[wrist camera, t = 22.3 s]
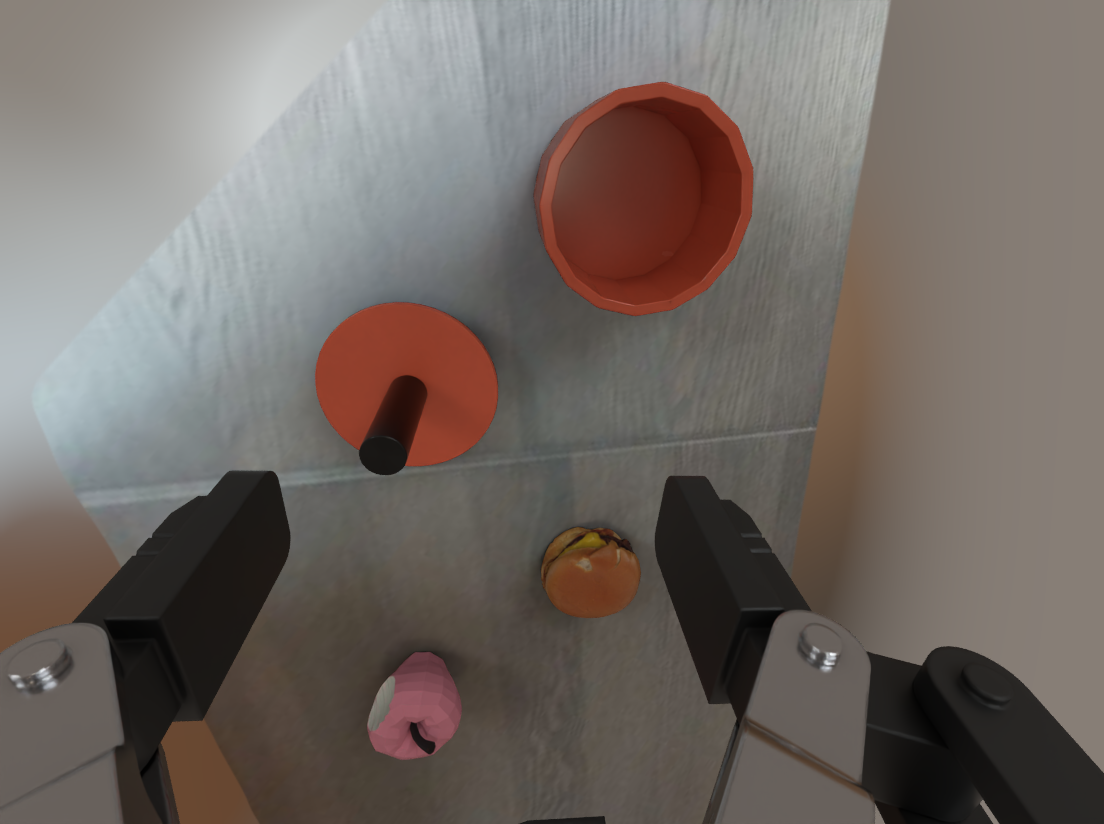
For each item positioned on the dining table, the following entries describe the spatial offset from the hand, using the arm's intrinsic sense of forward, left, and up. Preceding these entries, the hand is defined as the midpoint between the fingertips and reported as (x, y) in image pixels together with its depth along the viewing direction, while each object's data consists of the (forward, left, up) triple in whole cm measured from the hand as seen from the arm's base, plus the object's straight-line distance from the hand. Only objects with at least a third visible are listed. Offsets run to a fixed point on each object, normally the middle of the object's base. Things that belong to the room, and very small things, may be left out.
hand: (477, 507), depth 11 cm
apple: (+18, -42, -30) cm, 55 cm away
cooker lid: (0, -12, -27) cm, 30 cm away
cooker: (+5, +8, -30) cm, 31 cm away
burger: (+24, -20, -30) cm, 43 cm away
